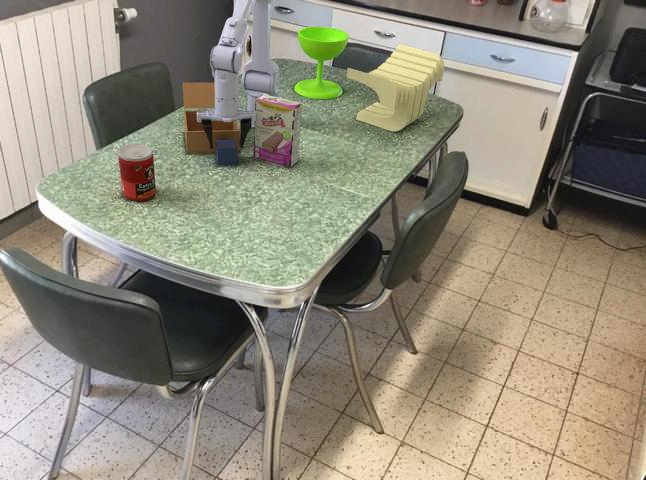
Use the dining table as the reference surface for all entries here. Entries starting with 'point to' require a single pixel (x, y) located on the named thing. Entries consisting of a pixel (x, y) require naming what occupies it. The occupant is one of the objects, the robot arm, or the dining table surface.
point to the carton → (198, 137)
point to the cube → (226, 152)
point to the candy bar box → (277, 129)
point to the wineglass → (321, 59)
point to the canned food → (137, 171)
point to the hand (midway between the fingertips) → (226, 146)
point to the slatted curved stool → (400, 87)
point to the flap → (199, 95)
